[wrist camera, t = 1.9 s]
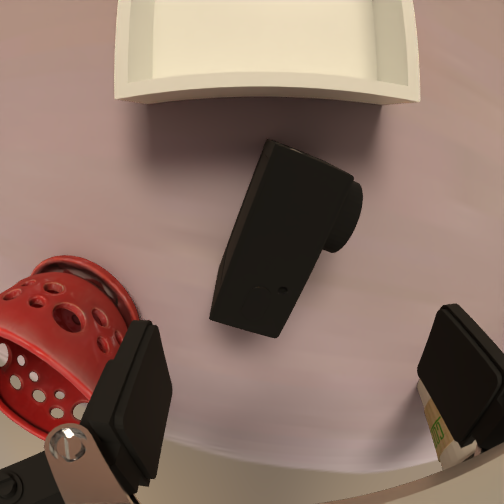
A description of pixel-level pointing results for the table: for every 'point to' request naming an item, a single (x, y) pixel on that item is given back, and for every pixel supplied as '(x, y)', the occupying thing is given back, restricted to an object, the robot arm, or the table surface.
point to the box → (266, 50)
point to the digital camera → (282, 237)
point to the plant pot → (59, 338)
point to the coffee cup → (443, 434)
